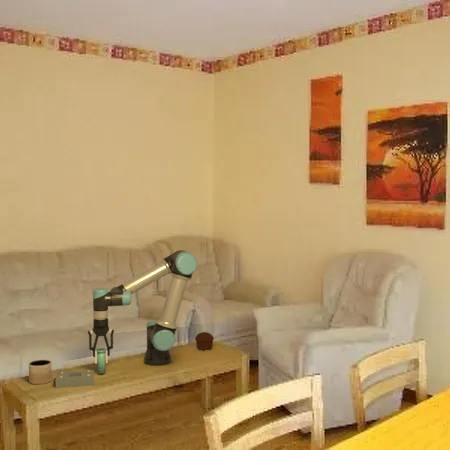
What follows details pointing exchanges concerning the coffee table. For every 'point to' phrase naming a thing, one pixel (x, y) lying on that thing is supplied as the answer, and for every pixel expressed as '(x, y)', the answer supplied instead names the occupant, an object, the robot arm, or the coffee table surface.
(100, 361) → the plug
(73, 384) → the grey socket block
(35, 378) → the planter
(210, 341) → the muffin
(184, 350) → the coffee table surface
